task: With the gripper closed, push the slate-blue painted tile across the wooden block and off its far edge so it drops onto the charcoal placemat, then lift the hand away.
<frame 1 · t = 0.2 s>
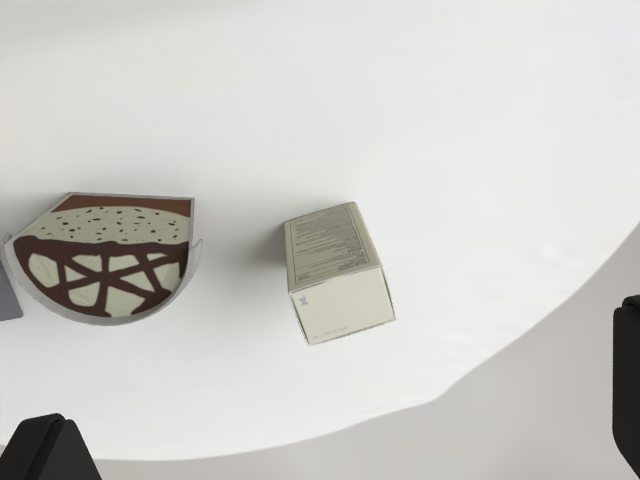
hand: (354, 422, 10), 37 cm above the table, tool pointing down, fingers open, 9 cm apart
skincare box: (327, 231, 49), on the table
food container: (135, 230, 48), on the table
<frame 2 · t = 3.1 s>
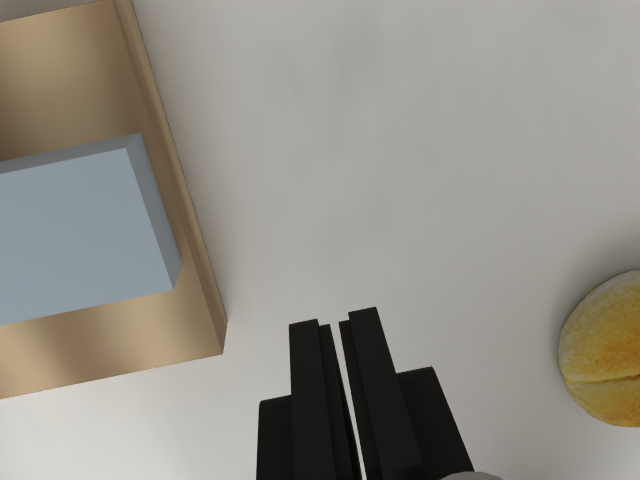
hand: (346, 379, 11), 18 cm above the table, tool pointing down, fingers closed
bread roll: (626, 336, 34), on the table
tile: (58, 222, 25), point 3 cm above the table, touching wooden block
wooden block: (59, 203, 28), on the table
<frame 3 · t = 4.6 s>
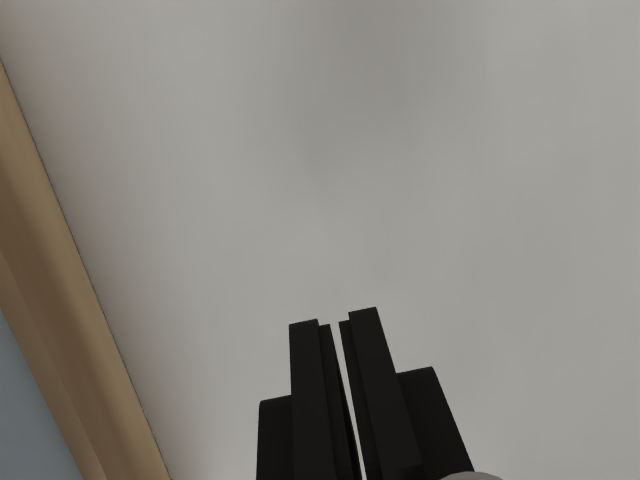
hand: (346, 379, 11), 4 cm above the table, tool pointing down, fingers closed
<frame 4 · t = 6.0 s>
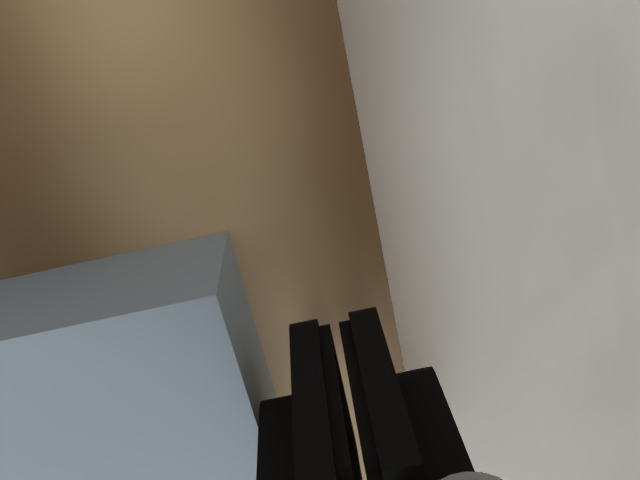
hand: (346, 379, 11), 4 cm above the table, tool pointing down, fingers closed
tile: (57, 403, 13), point 3 cm above the table, touching gripper
wooden block: (147, 321, 15), on the table
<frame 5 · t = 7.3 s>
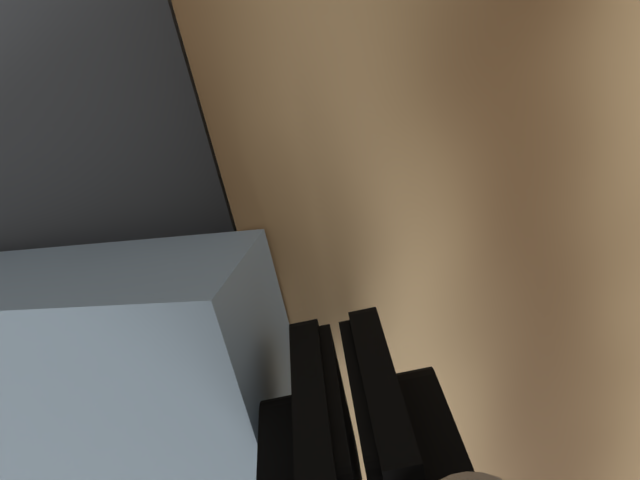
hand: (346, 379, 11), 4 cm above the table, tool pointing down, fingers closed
mat: (9, 348, 15), on the table
tile: (114, 362, 14), point 2 cm above the table, tilted 18°, touching wooden block, mat
wooden block: (506, 242, 15), on the table
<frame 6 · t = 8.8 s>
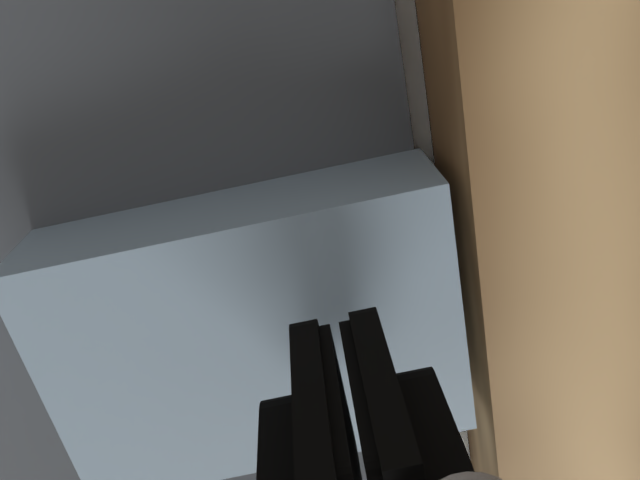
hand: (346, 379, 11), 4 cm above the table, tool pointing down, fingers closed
mat: (174, 311, 15), on the table
tile: (256, 301, 15), resting on mat
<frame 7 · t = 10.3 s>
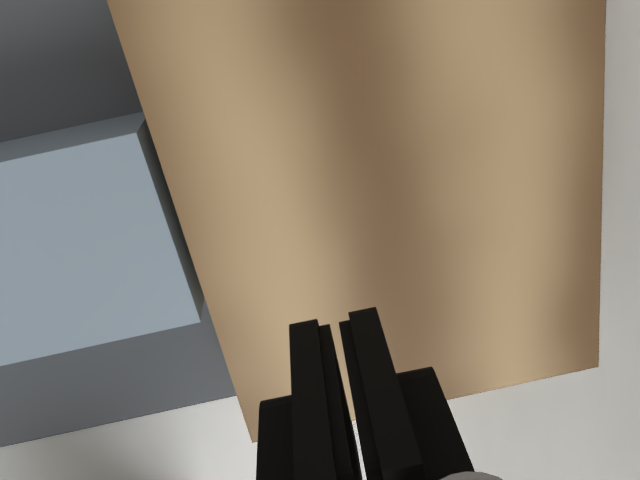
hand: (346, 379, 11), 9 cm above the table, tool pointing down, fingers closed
tile: (42, 231, 19), resting on mat
wooden block: (374, 155, 19), on the table
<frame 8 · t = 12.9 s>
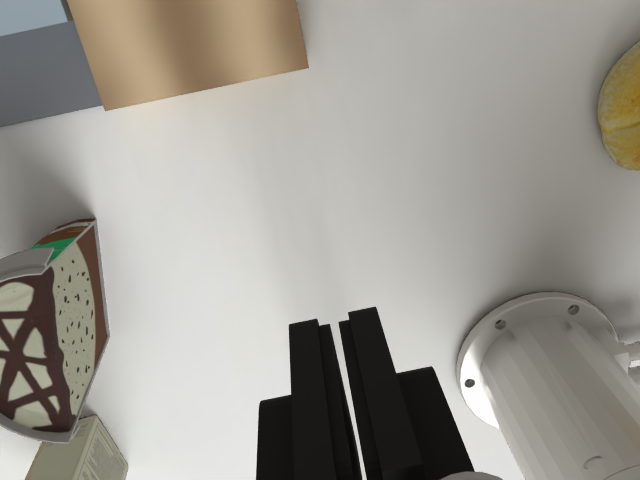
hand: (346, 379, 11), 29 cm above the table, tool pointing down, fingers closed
skincare box: (92, 447, 48), on the table
food container: (59, 278, 42), on the table
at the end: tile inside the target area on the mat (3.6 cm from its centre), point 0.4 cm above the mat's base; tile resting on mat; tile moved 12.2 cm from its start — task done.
